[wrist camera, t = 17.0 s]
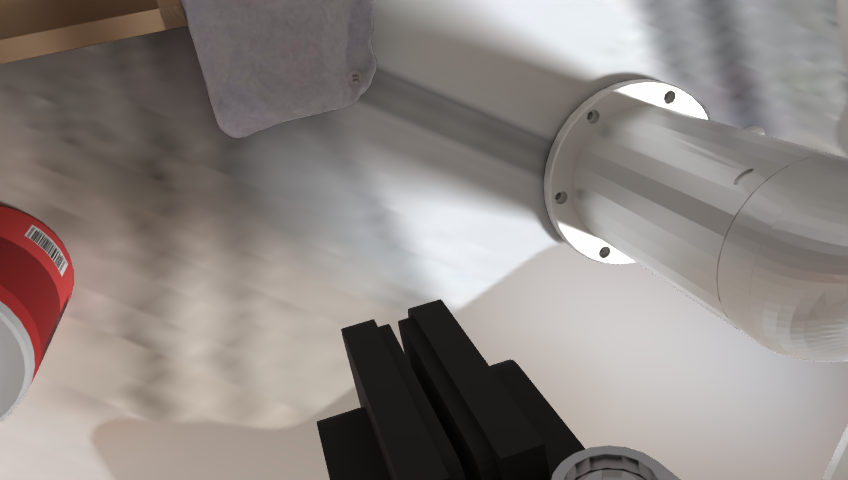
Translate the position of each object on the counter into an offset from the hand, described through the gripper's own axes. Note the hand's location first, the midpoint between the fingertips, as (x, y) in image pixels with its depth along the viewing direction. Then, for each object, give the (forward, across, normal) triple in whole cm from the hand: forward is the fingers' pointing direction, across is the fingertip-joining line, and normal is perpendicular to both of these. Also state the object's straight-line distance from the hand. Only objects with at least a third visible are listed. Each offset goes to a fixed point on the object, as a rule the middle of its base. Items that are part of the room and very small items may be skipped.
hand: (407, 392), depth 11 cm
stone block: (+32, -2, -5) cm, 32 cm away
